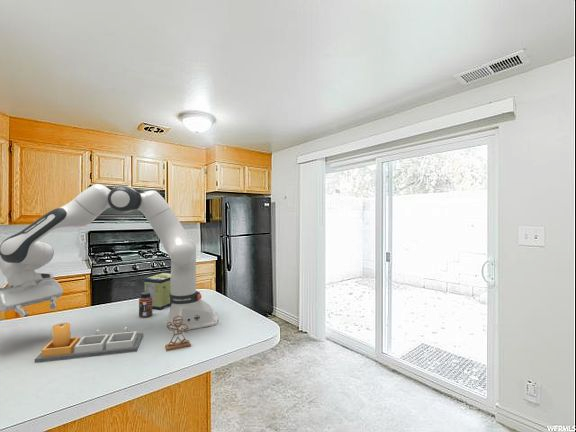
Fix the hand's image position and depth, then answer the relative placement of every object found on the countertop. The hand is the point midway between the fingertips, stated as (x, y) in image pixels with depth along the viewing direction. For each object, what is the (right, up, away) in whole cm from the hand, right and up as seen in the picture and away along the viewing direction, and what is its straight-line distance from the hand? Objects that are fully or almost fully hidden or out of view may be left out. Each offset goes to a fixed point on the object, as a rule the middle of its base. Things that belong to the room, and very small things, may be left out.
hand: (40, 311), depth 118 cm
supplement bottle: (+25, -12, +33) cm, 43 cm away
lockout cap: (+11, -13, -4) cm, 17 cm away
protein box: (+26, -12, +50) cm, 58 cm away
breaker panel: (+20, -14, 0) cm, 25 cm away
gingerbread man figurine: (+52, -14, +2) cm, 54 cm away
